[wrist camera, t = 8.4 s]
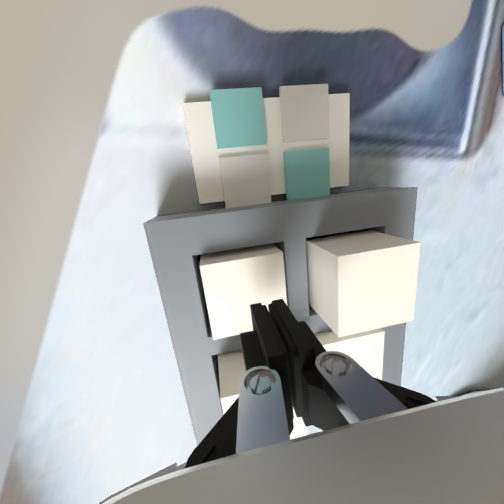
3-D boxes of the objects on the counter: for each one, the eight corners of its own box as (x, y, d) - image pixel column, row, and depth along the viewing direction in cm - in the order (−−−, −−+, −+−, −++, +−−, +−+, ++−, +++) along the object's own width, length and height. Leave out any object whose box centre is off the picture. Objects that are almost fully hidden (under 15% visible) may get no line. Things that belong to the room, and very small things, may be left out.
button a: (351, 304, 20) (384, 331, 16) (350, 350, 22) (381, 384, 18) (299, 315, 20) (321, 345, 16) (302, 362, 21) (323, 400, 17)
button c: (370, 230, 16) (420, 242, 12) (368, 292, 18) (413, 320, 14) (306, 240, 15) (338, 256, 12) (308, 304, 17) (338, 337, 13)
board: (383, 85, 16) (428, 59, 13) (372, 363, 23) (399, 393, 20) (130, 100, 14) (106, 71, 11) (199, 407, 21) (198, 449, 17)
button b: (282, 336, 17) (303, 377, 13) (286, 387, 18) (307, 439, 15) (217, 350, 16) (220, 398, 13) (226, 402, 18) (232, 460, 14)
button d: (266, 238, 17) (282, 252, 13) (271, 296, 19) (288, 324, 15) (201, 248, 17) (199, 266, 13) (212, 308, 18) (213, 340, 14)
